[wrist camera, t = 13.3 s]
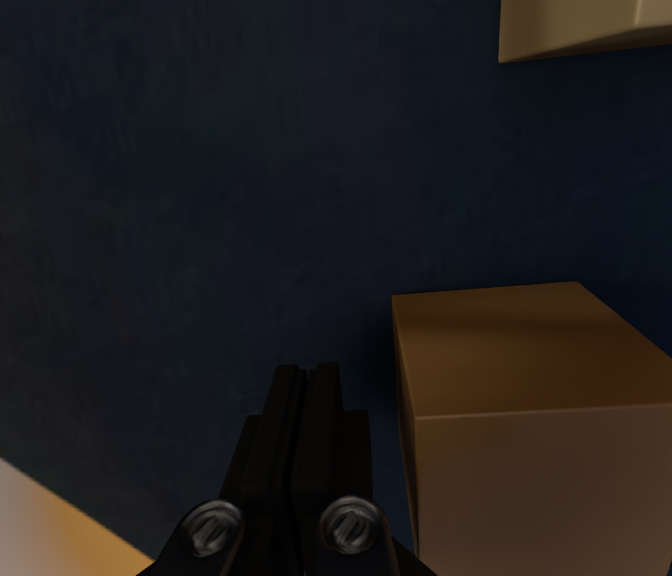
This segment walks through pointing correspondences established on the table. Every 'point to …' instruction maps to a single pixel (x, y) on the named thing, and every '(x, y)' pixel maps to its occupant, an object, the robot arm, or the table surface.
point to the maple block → (580, 27)
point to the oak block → (533, 433)
